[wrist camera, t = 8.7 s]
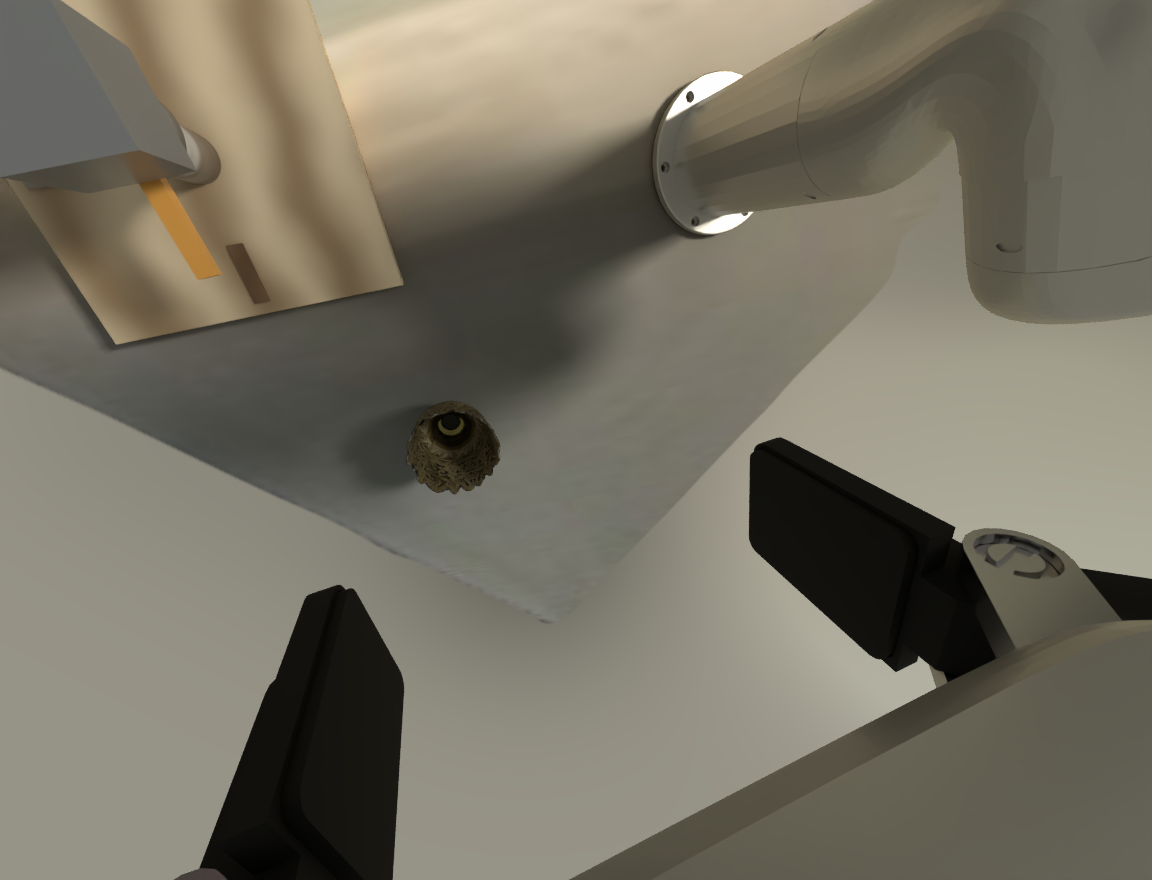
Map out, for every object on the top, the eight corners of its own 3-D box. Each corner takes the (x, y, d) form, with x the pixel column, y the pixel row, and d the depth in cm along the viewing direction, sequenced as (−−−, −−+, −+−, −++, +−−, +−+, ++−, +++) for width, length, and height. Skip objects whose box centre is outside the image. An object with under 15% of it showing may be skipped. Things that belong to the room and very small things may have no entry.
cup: (500, 438, 44) (513, 473, 37) (432, 467, 43) (432, 508, 36) (470, 373, 40) (479, 397, 33) (396, 402, 39) (388, 434, 32)
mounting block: (293, -44, 27) (245, -149, 20) (404, 283, 36) (398, 290, 29) (-102, -24, 23) (-335, -146, 16) (133, 339, 32) (49, 363, 25)
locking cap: (40, 83, 21) (-125, 9, 14) (153, 64, 21) (42, -13, 15) (172, 287, 25) (88, 298, 19) (261, 265, 26) (209, 268, 20)
